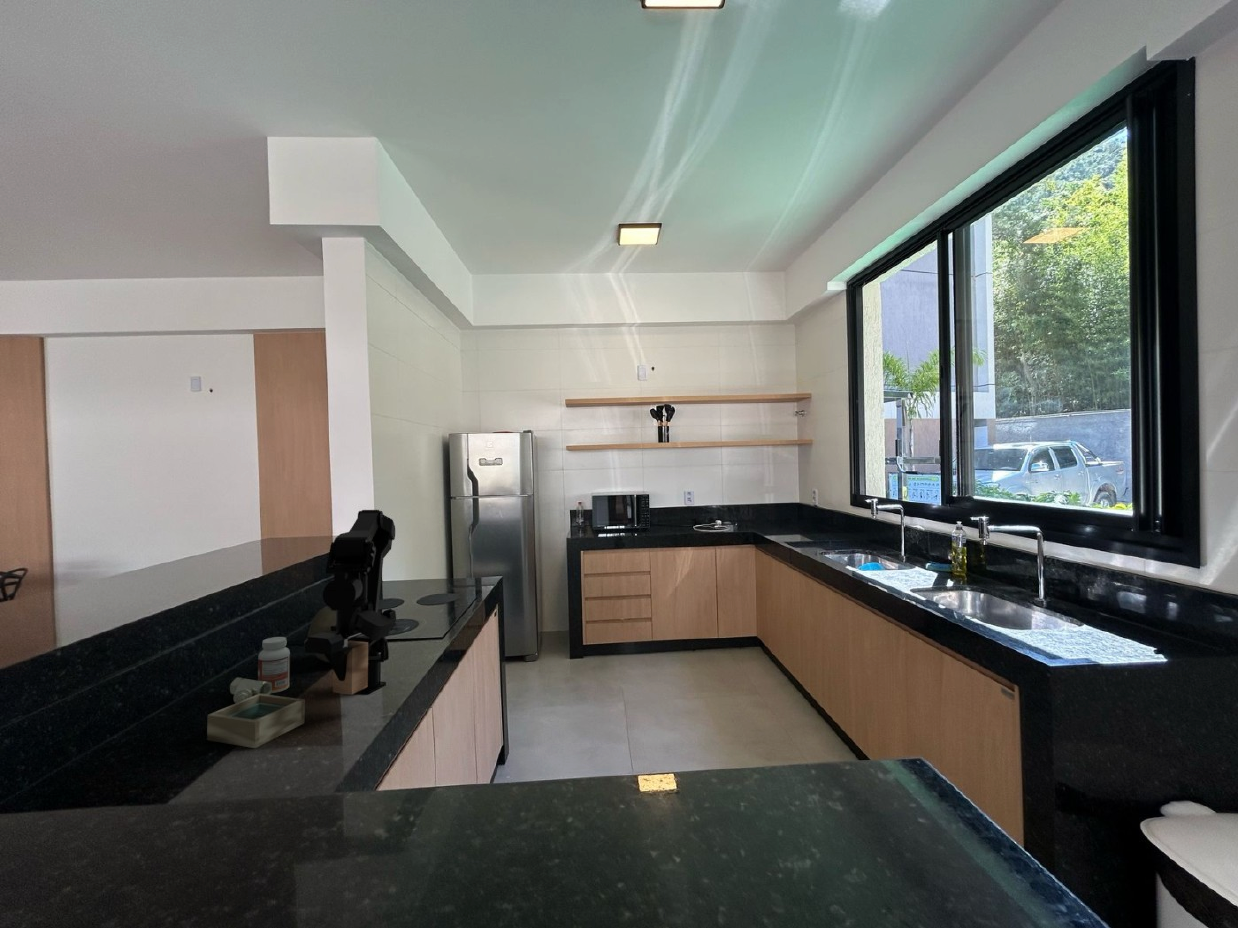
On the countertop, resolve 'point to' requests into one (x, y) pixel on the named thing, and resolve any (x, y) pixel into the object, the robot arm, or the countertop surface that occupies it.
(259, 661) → the pill bottle
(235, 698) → the pipe fitting
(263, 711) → the socket box
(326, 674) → the countertop surface
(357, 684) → the peg
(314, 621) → the cantaloupe
